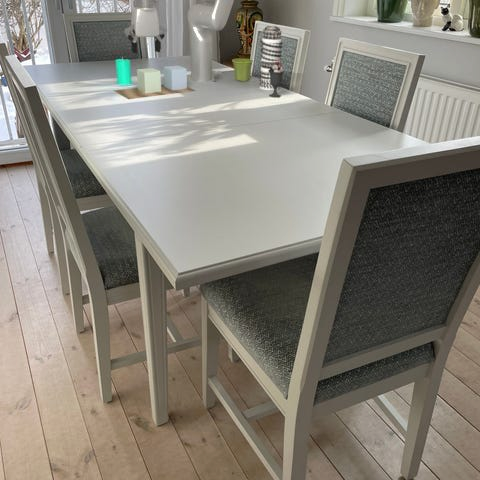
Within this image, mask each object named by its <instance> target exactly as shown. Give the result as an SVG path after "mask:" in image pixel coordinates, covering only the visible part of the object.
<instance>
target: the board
mask: <svg viewBox="0 0 480 480" xmlns="http://www.w3.org/2000/svg"><path fill="white" fill-rule="evenodd" d="M196 91H197V90H196V89H194V88H191V87H189V86H187V88H186V89H178V90H171V89H168V88H166V87H164V84H161V92H153V93H144V92H142V91H140V90H138V87H132V88H124V89H116V90H113V92H115V93H116V94H119V95H120V96H122V97H124V98H125V99H127V100H134V99H143V98H148V97H149V98H150V97H151V98H152V97H156V96H166V95H173V94H175V95H176V94H181V93H188V92H196Z"/></svg>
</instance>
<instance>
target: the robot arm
mask: <svg viewBox="0 0 480 480" xmlns="http://www.w3.org/2000/svg"><path fill="white" fill-rule="evenodd" d="M234 1H235V0H201V2H203V3H205V4H201V3H197V4H194V5H191V6H190V7H189V9H188V12H187V21H188V26H189V27H188V28H189V35H190V39H189V40H190V76H187V81H190V82H194V83H210V82H213V83H216V78H215V77H216V76H217V77H218V76H222V71H221V70H217V71H216V70H214V69H213V35H212V33H211V31H213V32H218V31H219V32H220V31H222V30H223V29H224V27H225V26H226V24H227V22H228V19H229V17H230V14H231V10H232V7H233V4H234ZM158 4H159V2H158V1H157V0H134V7H133V8H132V10H131V21H130V25H129V26H128V27H127V28H124V31H123V33H124V34H125V36H126V38H127V39H128V41H130V43H131V51H132V53H133V54H135V55H136V54H139V53H138V42H137V41H138V39H139V38H154V39H155V40H154V51H155V52H157V53H161V49H162V45H161V42H162V41H163V39H164V38H165V35H166V33H167V29H166V28H165V27H164V26H162V25H160V20H159V15H158V14H159V13H158V11H157V8H156V6H158ZM160 31H161V32H160ZM130 32H131V34H130Z"/></svg>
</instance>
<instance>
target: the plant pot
mask: <svg viewBox="0 0 480 480" xmlns="http://www.w3.org/2000/svg"><path fill="white" fill-rule="evenodd" d="M231 62H232V64H233V69H234V78H235V81H237V82H239V81H240V82H248V81H249V79H250V74H251V73H250V72H251V67H252V65H253V62H254V60H253V59H249V58H234V59H231Z"/></svg>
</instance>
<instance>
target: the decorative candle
mask: <svg viewBox="0 0 480 480" xmlns="http://www.w3.org/2000/svg"><path fill="white" fill-rule="evenodd" d="M262 32H263V33H262V40H260V43H261V45H260V48H261V49H260V61H261V67H260V71H259V73H260V75H259V77H260V78H259V83H258V85H259V87H258V88H259V89H260V90H262V91H274V87H273V86H272V85H271V80H270V73H269V71H268V70H270V69H269V67H270V66H271V67H272V66H273V65H274V64H275V63H276V62H278V61H279V60H281V59H280V58H282V50H280V49H282V48H283V46H282V45H283V42H282V32H283V31H282V30H281V28H280V27H279V26H274V25H269V26H265V28H264V29H263V30H262ZM278 64H280V61H279V62H278ZM277 90H279V86H278V87H277Z"/></svg>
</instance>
